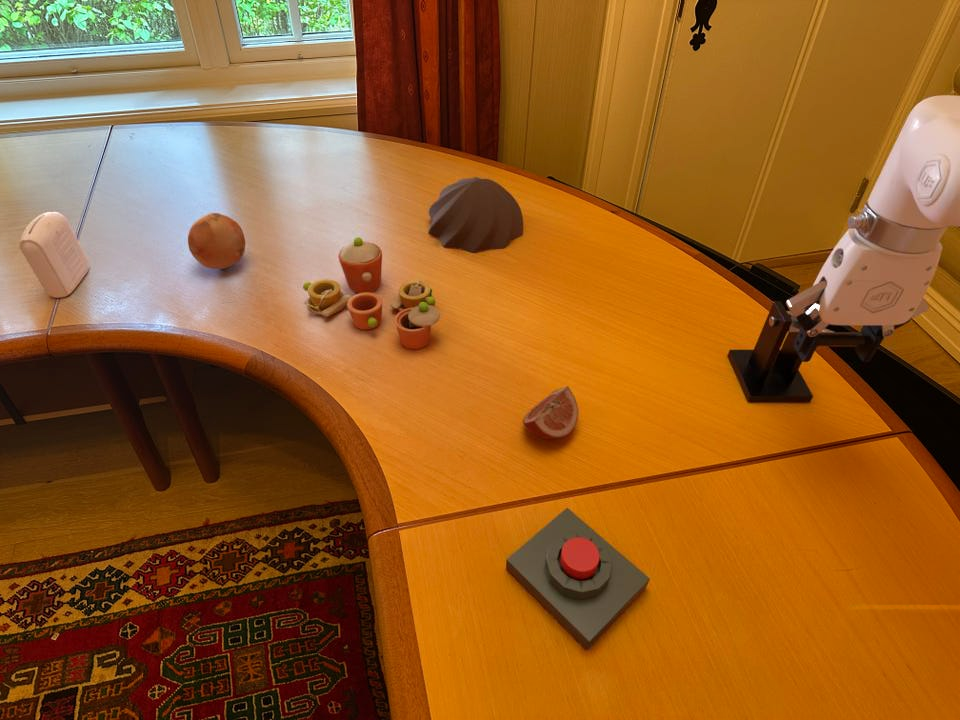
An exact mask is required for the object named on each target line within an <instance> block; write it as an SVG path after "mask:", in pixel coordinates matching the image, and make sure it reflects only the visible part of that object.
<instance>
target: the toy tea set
mask: <svg viewBox="0 0 960 720" xmlns="http://www.w3.org/2000/svg"><path fill="white" fill-rule="evenodd" d="M337 256H338V257H337V258H338V262H339V264H340V267H341V270H342V272H343V275H344V279H345V280H346V283H347V286H348V288H349V289H350V290H351V291H353V292H355V293H356V294H354V295H353V296H351V295H350V294H345V293H344V292H343V291H341V285H340V283H339V282H338V281H336V280H334V279H329V278H323V279H319V280H316V281H313V282H312V283H311V282H310V281H306V282H304V283H303V284H302V289H303V290H304V291H306V292H307V294H308V296H309V297H308V299H307V301H306V302H304V304H306V305H307V307H306V308H307V309H308V310H309V311H310V312H312V313H314V314H316V315H320V316H321V315H322V316H323V317H324V318H328V317H329V316H331V315H333V314H336V313H338V312H340V311H342V309H343V308H345V306H347V307H346V308H347V310H348V312H349V315H350V318H351V320H352V322H353V325H354V326H355V327H356V328H357V329H360V330H372V329H375V328H377V327H378V326H379V325H380V324H381V323H382V319H383V318H382V317H383V299H382V297H381V296H380V295H379V294H377V293H374V291H376V290H377V289H379V287H380V286H381V283H382V270H383V269H382V267H383V251H382V249H381V247H380V246H379V245H377V244H375V243H374V242H371V241H367V240H363V239H362V238H361V237H359V236H356V237H355V238H354V239H353V241H351V242H349V243H347V244H346V245H345V246H343V247H342V248H340V250H339V252H338V255H337ZM397 292H398V293H397V295H396V296H395V298H393V299H392V300H391V301H390V307H391V309H395V310H396V309H397V311H398V313H397V314H396V315H395V317H394V325H395V328H396V330H397V334H398V337H399V340H400V343H401V344H402V345H403V347H405V348H407V349H410V350H419V349H422V348H424V347H426V346H427V345H428V343H429V342H430V339H431V330H432V326H433V325H435V324H437V323H438V322H439V321H440V319H441V312H440V310H439V309H438V308H437V307H435V305H436V299H435V297H434V296H433V288H431V286H430V285H429V284H428V283H427V282H425V281H423V280H422V279H419V280H409V281H406V282H404V283H402V284H401V285H400V286H399V287H398V291H397Z"/></svg>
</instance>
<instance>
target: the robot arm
mask: <svg viewBox="0 0 960 720" xmlns="http://www.w3.org/2000/svg"><path fill="white" fill-rule="evenodd" d="M847 227H848V229H847V231H846V232H845V233H844V234H843V236H842V237H841V238H840V239H839V241H838V242H837V244H836V245H835V246H834V248H833V250H831V253H830V254H829V255H828V257H827V259H826V261H825V262H824V264H823V265H822V267H821V269H820V270H819V273H818V274H817V276H816V279H815V280H814V282H813V285H811V286H810V287H808V288H807V289H804V290H803V291H801V292H799V293H797V294H795V295H793V296H792V297H790V298H788V299H787V300H786V301H785V305H786V307H787V308H788V311H791V313H792V314H793V315H794V317H795V318H796V320H797V321H798V323H799V324H800V325H801V329H800V331H799V333H798V335H797V337H796V339H795V341H794V349H795V350H796V352H797V353H798V355H799V356H800V358H801V360H802V363H808V362H810V361H811V359H812V357H813V356H814V354H815V351H816V349H817V348H818V347H819V346H818V344H819V342H820V339H821V338H820V336H819V333H820V332H821V331H822V330H823V329H827V327H828V326H829V325H831V326H862V327H861V329H860V331H859V332H862V333H864V334H865V337H866V341H865V344H864V345H863V346H852V348H853V351H855V353H856V354H857V356H858V357H859V359H860V360H861V361H862V362H863V363H870V362H871V361H872V358H873V357H874V356H875V354H876V352H877V351H878V349H879V347H880V345H881V344H882V343H883V341H884V339H885V338H890V337H892V336H893V335H894V333H895V330H897V329H899V328H901V327H902V326H905V325H907V324H908V323H909V322H910V321H911V320H912V319H914V318H916V317H918V316H920V315H921V314H923V313H925V312H927V311H928V310H929V309H930V305H929V304H928V302H927V301H926V300H925V298H924V297H925V295H926V293H927V291H928V289H929V287H930V285H931V282H932V281H933V278H934V276H935V273H936V271H937V268H938V265H939V263H940V259H941V255H942V251H943V244H942V243H941V242H940V241H941V239H942V237H943V235H944V234H945V232H946V230H947V229H948V227H960V95H955V94H954V95H952V94H948V95H947V94H944V95H934V96H930V97H927V98H924V99H923V100H921V101H919V102H918V103H917V104H916V105H914V107H913V108H912V109H911V111H910V113H909V114H908V116H907V118H906V120H905V121H904V124H903V125H902V128H901V130H900V132H899V134H898V135H897V139H896V140H895V143H894V144H893V146H892V149H891V151H890V153H889V155H888V157H887V159H886V161H885V163H884V165H883V167H882V170H881V171H880V173H879V176H878V178H877V180H876V182H875V184H874V186H873V188H872V190H871V192H870V195H869V197H868V198H867V200H866V203H865V204H864V205H863V208H862V210H861V212H860V213H858V214H853V215H850V216H849V217H848V219H847ZM810 304H811V305H812V304H813V305H812V307H811V308H810V309H809V310H808V311H807V312H806V311H805V310H804V309H805V308H806V307H807V306H809V305H810ZM818 315H819V317H820V318H819V319H818V320H817V321H816V322H815V323H814V321H813V320H814V319H815V318H816V317H817V316H818Z"/></svg>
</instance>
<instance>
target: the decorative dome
mask: <svg viewBox="0 0 960 720" xmlns="http://www.w3.org/2000/svg"><path fill="white" fill-rule="evenodd" d="M428 215H429V218H430V221H431V224H430V225H429V228H428V230H427V233H428V235H431V236H432V237H434V238H436V239H438V240H439V242H440V244H441V245H442V247H443V248H453V249H461V250H464V251H466V252H468V253H471V254H476V253H479V252H483V251H485V250H493V249H495V250H499V249H502V250H503V249H505V248H507V246H508V245H509V243H510V242H511V241H513V240H516V239H518V238H520V237H522V236H523V234H524V217H523V212H522V209H521V206H520V205H519V202H518V201H517V200H516V198H515V197H514V196H513V195H512V194H511V193H510V192H509V191H508V190H507V189H506V188H504V187H503V186H502V185H501V184H500V183H498V182H496V181H494V180H493V179H489V178H481V177H478V176H473V177H470V178H469V177H468V178H467V177H465V178H460V179H459V180H457V181H456V182H453V183H452V184H449V185H447V186H446V187H444V188H442V189H441V191H440V192H439V195H438V199H436V201H434V202H433V203H432V204H431V205H430V207H429V209H428Z"/></svg>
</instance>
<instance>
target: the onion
mask: <svg viewBox="0 0 960 720" xmlns="http://www.w3.org/2000/svg"><path fill="white" fill-rule="evenodd" d="M187 245H188V249H189V252H190V254H191V256H192V257H193V258H194V259H195V260H196V261H197V262H198V263H199V264H200V265H202V267H203V266H204V267H205V268H209V269H212V270H221V269H222V270H223V269H228V268H230V267H232V266H233V265H236V264H237V263H238V262H239V261H241V260H242V258H243V256H244V254H245V251H246V237H245V234H244V231H243V229H242V227H241V225H240V224H239V223H238V222H237V221H236V220H234V219H233V218H232V217H230V216H228V215H225V214H222V213H219V212H210V213H207V214H204V215H202V216H200V217H199V218H198V219H196V220H195V221H194V222H193V223H192V224H191V226H190V228H189V230H188V234H187Z"/></svg>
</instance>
